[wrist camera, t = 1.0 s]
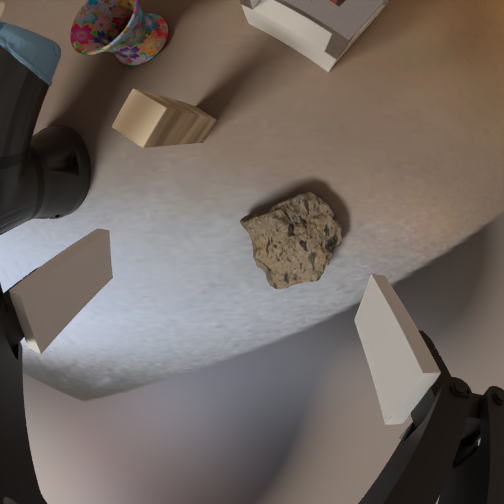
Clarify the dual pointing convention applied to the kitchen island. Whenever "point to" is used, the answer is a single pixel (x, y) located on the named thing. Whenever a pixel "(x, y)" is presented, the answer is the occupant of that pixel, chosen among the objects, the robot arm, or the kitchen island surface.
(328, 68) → the box
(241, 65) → the kitchen island surface
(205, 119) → the tall wooden block
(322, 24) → the frame
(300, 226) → the rock
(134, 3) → the mug
